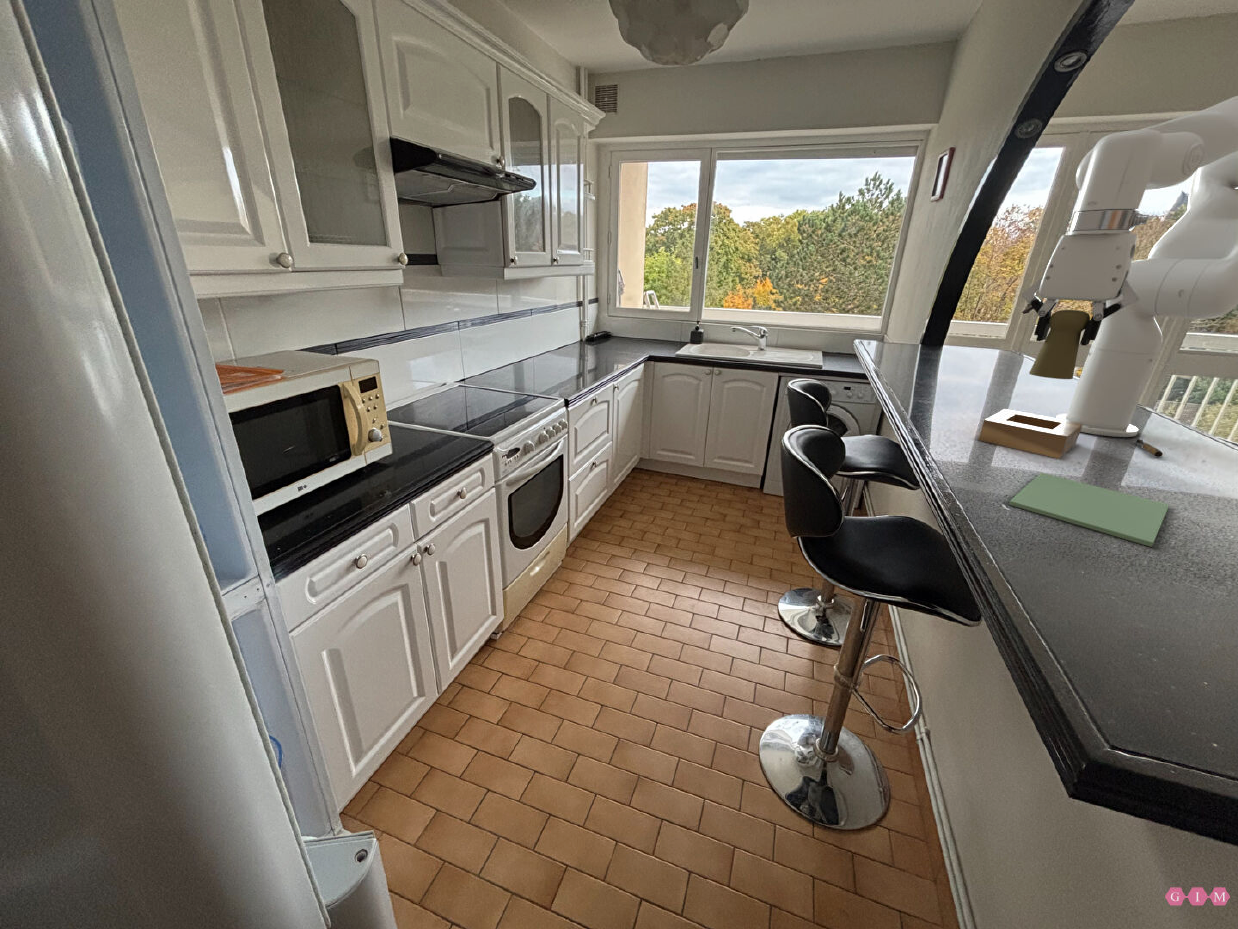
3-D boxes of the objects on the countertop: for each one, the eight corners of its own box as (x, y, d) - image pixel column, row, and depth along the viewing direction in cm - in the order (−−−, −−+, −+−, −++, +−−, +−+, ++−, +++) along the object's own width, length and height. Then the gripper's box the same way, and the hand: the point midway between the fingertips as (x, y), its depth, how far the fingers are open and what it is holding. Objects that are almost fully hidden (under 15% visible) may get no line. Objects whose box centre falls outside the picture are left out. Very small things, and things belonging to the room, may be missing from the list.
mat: (1040, 476, 78) (1041, 472, 78) (1167, 508, 68) (1169, 504, 68) (1008, 504, 68) (1009, 500, 68) (1151, 547, 59) (1153, 542, 58)
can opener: (1161, 458, 86) (1164, 452, 85) (1143, 455, 87) (1145, 449, 86) (1146, 444, 93) (1149, 438, 92) (1129, 441, 94) (1132, 435, 94)
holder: (998, 428, 101) (1004, 408, 99) (1075, 444, 92) (1083, 423, 91) (978, 440, 94) (984, 419, 92) (1059, 458, 85) (1067, 436, 84)
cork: (1081, 380, 85) (1106, 312, 81) (1040, 377, 86) (1063, 310, 82) (1059, 374, 90) (1081, 310, 86) (1021, 371, 91) (1042, 308, 87)
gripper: (1181, 223, 75) (1134, 346, 82) (1040, 227, 87) (1009, 334, 94) (1175, 220, 71) (1125, 351, 78) (1027, 226, 83) (996, 338, 90)
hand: (1062, 341), depth 86 cm, fingers closed on cork, 5 cm apart
